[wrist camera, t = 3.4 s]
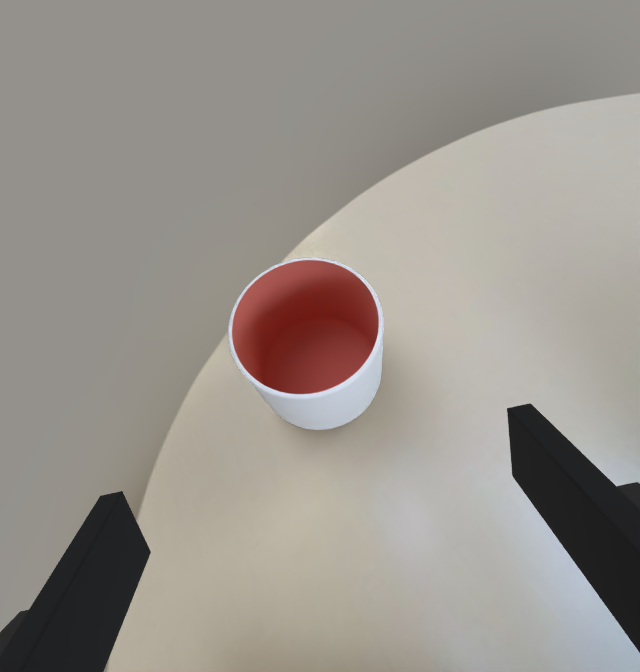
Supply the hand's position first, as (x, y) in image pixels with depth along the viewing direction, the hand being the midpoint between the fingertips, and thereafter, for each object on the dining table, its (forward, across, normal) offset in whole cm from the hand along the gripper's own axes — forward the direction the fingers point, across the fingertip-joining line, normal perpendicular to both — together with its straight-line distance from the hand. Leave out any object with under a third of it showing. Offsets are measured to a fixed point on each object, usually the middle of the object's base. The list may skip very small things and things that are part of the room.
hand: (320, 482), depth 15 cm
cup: (+21, 0, -6) cm, 22 cm away
